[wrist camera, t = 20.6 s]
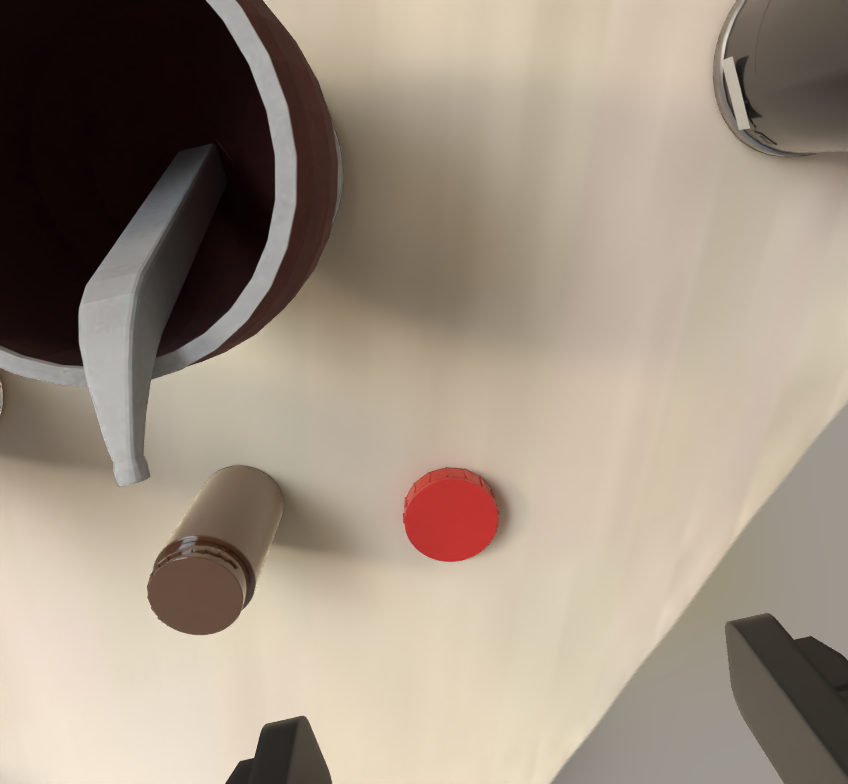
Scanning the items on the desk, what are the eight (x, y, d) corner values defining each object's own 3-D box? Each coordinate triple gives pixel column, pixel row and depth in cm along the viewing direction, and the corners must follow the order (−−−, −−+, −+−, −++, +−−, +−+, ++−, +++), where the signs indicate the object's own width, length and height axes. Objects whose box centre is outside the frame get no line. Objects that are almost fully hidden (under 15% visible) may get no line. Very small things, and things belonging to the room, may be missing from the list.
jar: (243, 449, 38) (194, 532, 29) (300, 506, 39) (271, 602, 30) (183, 498, 39) (118, 592, 30) (241, 552, 40) (196, 657, 31)
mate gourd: (47, 57, 31) (-520, -137, 12) (318, -11, 30) (177, -328, 11) (158, 350, 36) (-114, 543, 17) (392, 297, 35) (381, 435, 16)
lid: (399, 544, 41) (399, 558, 39) (408, 463, 39) (409, 474, 37) (488, 551, 41) (491, 565, 39) (501, 471, 39) (505, 482, 38)
